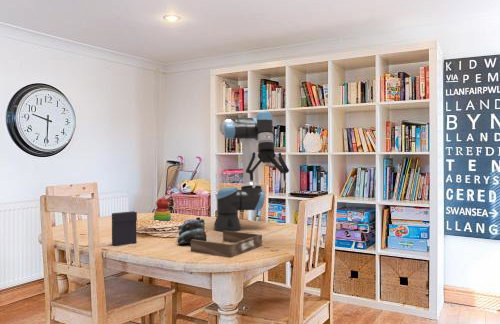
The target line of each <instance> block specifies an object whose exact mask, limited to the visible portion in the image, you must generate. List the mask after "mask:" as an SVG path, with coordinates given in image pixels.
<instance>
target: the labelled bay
mask: <svg viewBox="0 0 500 324" xmlns="http://www.w3.org/2000/svg"><path fill="white" fill-rule="evenodd" d="M223 242H228V243H223ZM229 243H230V244H229ZM262 245H263V235H262V234H257V233H249V232H240V231H222V243H221V242H215V241H208V240H207V241H201V240H193V239H192V240H191V243H190V252H195V253H201V254H206V255H213V256H214V255H215V256H220V257H221V256H222V257H227V258H233V257H235V255H236V256H238V255H241V254H243V253H246V252H249V251H251V250H254V249H257V248H259V247H261V246H262ZM262 247H263V246H262Z"/></svg>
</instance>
